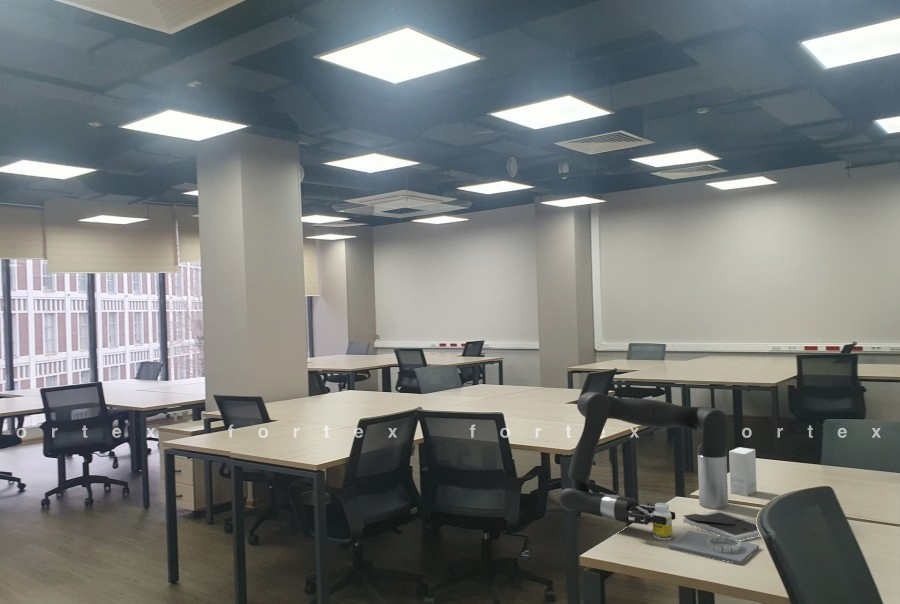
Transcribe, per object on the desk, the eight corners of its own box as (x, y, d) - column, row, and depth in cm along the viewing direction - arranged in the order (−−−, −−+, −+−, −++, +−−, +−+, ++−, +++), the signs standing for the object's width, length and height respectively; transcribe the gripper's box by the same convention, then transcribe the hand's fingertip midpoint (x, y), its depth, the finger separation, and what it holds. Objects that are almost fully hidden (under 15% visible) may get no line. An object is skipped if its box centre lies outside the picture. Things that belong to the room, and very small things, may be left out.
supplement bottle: (649, 535, 199) (648, 503, 199) (664, 533, 201) (663, 500, 201) (661, 541, 194) (660, 508, 194) (676, 538, 196) (675, 505, 196)
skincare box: (740, 488, 246) (739, 446, 246) (758, 492, 241) (756, 449, 241) (729, 493, 240) (727, 450, 240) (747, 496, 235) (745, 453, 235)
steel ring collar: (713, 539, 192) (713, 534, 192) (746, 546, 186) (745, 540, 186) (701, 548, 185) (701, 542, 185) (734, 555, 179) (734, 550, 179)
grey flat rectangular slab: (689, 533, 200) (689, 530, 200) (759, 548, 186) (759, 545, 186) (668, 548, 188) (668, 544, 188) (740, 565, 175) (740, 561, 175)
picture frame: (683, 524, 210) (735, 545, 191) (683, 515, 210) (735, 535, 191) (720, 516, 217) (774, 535, 198) (720, 508, 217) (774, 526, 198)
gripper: (606, 501, 202) (659, 512, 190) (629, 491, 212) (680, 500, 201) (607, 526, 202) (660, 538, 190) (629, 514, 212) (681, 525, 201)
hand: (670, 518), depth 196 cm, fingers closed on supplement bottle, 5 cm apart
